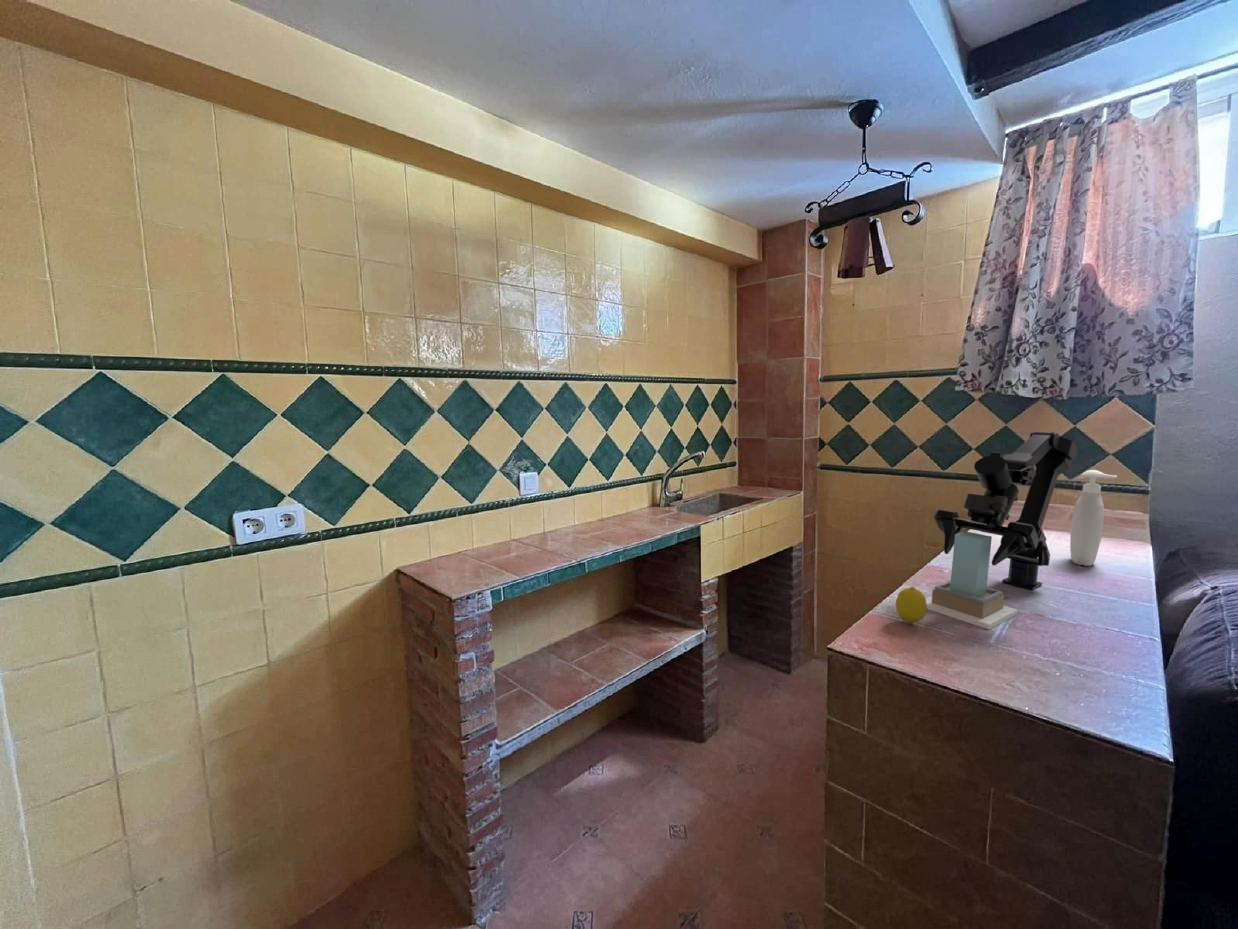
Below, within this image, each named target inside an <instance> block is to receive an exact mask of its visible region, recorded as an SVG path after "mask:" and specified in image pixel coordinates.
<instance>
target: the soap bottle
mask: <svg viewBox="0 0 1238 929" xmlns="http://www.w3.org/2000/svg"><path fill="white" fill-rule="evenodd" d="M1081 477H1086V478H1089V482H1086V483H1085V484H1082V492H1081V494H1080V496H1079V497H1078V499H1077V500H1076V502H1075V506H1074V509H1073V514H1072V520H1071V526H1070V533H1069V534H1070V537H1069V538H1070V541H1069V542H1070V544H1069V545H1070V546H1069V547H1070V559H1071V561H1072V562H1073V563H1074V564H1076V565H1077V564H1078V566H1081V565H1084V566H1083V567H1090V566H1092V565H1094V564H1095V562H1096V559H1097V555H1098V552H1099V548H1100V544H1101V540H1102V537H1103V535H1102V534H1103V528H1104V520H1105V519H1104V518H1105V508H1104V506H1105V505H1104V502H1103V499H1102V495H1101V488H1102V486H1101V485H1100V484H1099V483H1096V478H1097V479H1099V478H1100V479H1116V478H1117V477H1118V475H1116V474H1115V475H1112V474H1106V473H1103V472H1102V471H1100V470H1096V469H1088V470H1086V471H1084V472H1083V473H1081Z"/></svg>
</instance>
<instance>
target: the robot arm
mask: <svg viewBox="0 0 1238 929" xmlns="http://www.w3.org/2000/svg"><path fill="white" fill-rule="evenodd" d="M1077 455H1078V448H1077V445H1076V444H1075V443H1074V441H1072V440H1070V439H1068V438H1065V437H1062V436H1060V434H1059V433H1057V432H1054V431H1039V430H1036V431H1032V432H1030V435H1029V437H1028V439H1026V440H1025V441H1024V443H1022V444H1021V445H1020V446H1019V447H1018V448H1017V449H1016V450H1015V451H1014V452H1012V453H1008V454H1003V453H1002V452H990V454H989V455H987V456H983V457H981V458H980V459H978V460H977V461H975V463H974V465H973V467H974V468H973V469H974V470H975V473H976V475H977V477H978V481H979V482H980V485H981V487H982V488H984V489H985V490H984V492H983V494H977V493H976V494H975V493H974V494H973V493H968V494H967V495H966V498H965V502H964V504H963V505H964V506H963V508H964V509H967V510H968V511H967V512H966V514H967V516H968V517H969V518H970V519H966V518H960V516H959V513H958V511H954V510H948V509H943V508H942V509H938V510H937V511H936V512H935V513H934V516H933V518H934V520H935V523H936V524H937V526H938V528H939V530H940V531H942V532H943V534H944V548H943V551H944V552H943V553H944V554H946V555H948V554H949V553H950V552H951V550H952V549H953V548H954V540H955V534H958V533H961V531H962V529H966V530H967V529H968V530H971V531H979V532H981V533H986V534H992V535H997V536H1001V538H1000V545H999V546H998V547H997V549H996V552H995V553H994V555H993V556H992V557H993V558H992V561H991V564H992V566H996V565H998V564H999V563H1001V562H1004V560H1006V559H1009V564H1008V565H1009V567H1008V575H1007V576H1008V577H1005V578H1003V579H1002V580H1001V583H1005V584H1010V585H1013V586H1016V587H1021V588H1025V589H1028V590H1035V589H1037V588H1039V587H1040V585H1041V586H1043V583H1042V582H1040V581H1038V575H1039V567H1043V566H1045V567H1046V566H1047V567H1049V565H1050V560H1051V558H1050V557H1051V553H1050V550H1049V548H1048V544H1047V537H1046V535H1045V533H1044V530H1043V528H1042V526H1043V524H1044V521H1045V518H1046V514H1047V511H1048V510H1049V506H1050V503H1051V501H1052V500H1051V499H1052V495H1053V493H1054V491H1055V487H1056V483H1057V481H1058V477H1059V476H1060V475H1061V474H1063V473H1065V472H1066V471H1068V470H1069V469H1070V467H1071V465H1072V463H1073V461H1074V460H1076V458H1077ZM1030 482H1031V483H1030ZM1029 483H1030V485H1029ZM1017 485H1020V486H1027V485H1029V486H1030V487H1029V489H1028V492H1027V494H1026V498H1025V501H1024V504H1023V507H1022V509H1021V513H1020V516H1019V518H1018V519H1017V520H1016V521H1009V523H1008V524H1007V526H1005V525H1004V523H1005V521H1007V520H1009V519H1010V510H1011V509H1012V506H1013V505H1014V503H1015V502H1017V501H1018V500H1019V497H1018V494H1019V488H1018V486H1017ZM1003 525H1004V526H1003Z"/></svg>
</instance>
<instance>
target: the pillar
mask: <svg viewBox="0 0 1238 929" xmlns="http://www.w3.org/2000/svg"><path fill="white" fill-rule="evenodd" d="M991 548H992V536H990V535H985V534H981V533H975V532H971V531H962V532H958V534H955V540H954V545H953V550H952V551H953V552H952V562H951V563H952V564H951V574H950V581H951V583H950V590H951V591H955V592H958V593H962V594H965V595H968V596H972V597H975V598H978V597H980V596H982V595H985V594H986V588H988V586H987V585H988V576H989V567H990V565H989V564H990V557H991Z"/></svg>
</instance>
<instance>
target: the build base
mask: <svg viewBox="0 0 1238 929" xmlns="http://www.w3.org/2000/svg"><path fill="white" fill-rule="evenodd" d="M950 583H951V580H948V581H945V582H943V583H940V584H938V585H936V586H934V589H932V592H931V593H932V594H931V595H930V596H928V597H925V599H926V604H927V610H929V611H931V612H935V613H938V614H941V615H945V616H947V617H950V618H953V619H956V620H959V621H963V622H965V623H968V624H971V625H974V626H976V627H979V628H983V629H985V630H991V629H992V628H994V627H997V626H998V625H1000V624H1001V623H1003V622H1005V621H1007V620H1009V619H1011V618H1013V617H1014V616H1016V615H1017V614H1018V609H1017V608H1013V607H1010V606H1008V605H1004V600H1005V595H1004V594H1003V591H1001V590H997V589H994V588H991V587H987V588H986V594H985V595H982V596H980V597H978V598H975V597H972V596H968V595H965V594H962V593H958V592H955V591H951V590H950Z"/></svg>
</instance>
